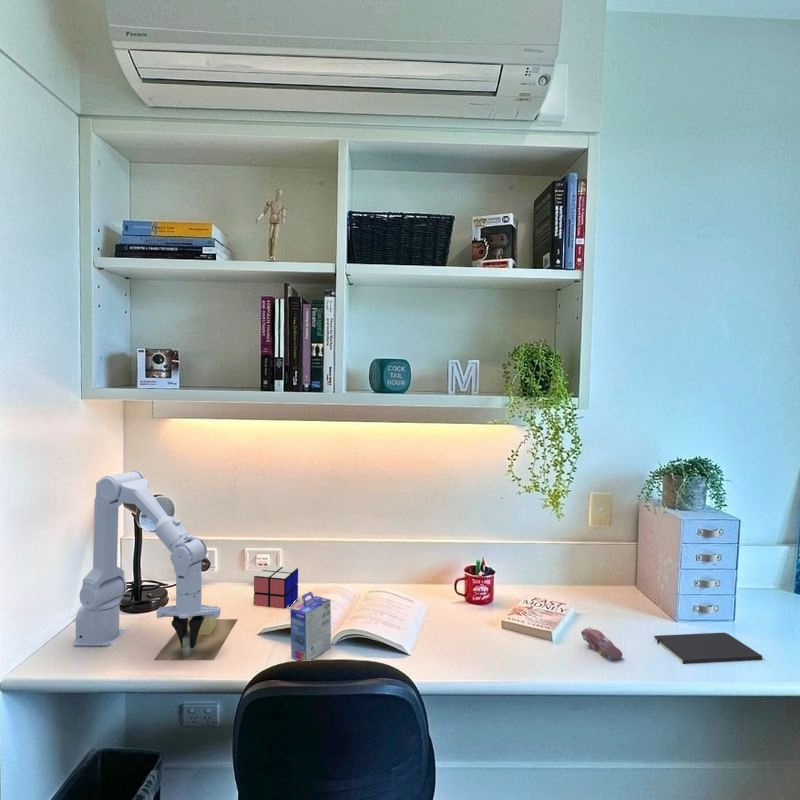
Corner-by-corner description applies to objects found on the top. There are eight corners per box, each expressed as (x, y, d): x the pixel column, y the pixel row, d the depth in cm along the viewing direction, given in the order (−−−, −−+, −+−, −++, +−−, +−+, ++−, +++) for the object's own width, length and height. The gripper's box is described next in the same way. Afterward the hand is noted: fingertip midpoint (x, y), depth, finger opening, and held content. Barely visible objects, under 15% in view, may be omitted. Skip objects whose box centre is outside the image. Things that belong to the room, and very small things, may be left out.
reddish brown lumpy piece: (584, 650, 142) (575, 628, 141) (597, 639, 144) (588, 618, 142) (612, 668, 133) (602, 645, 132) (625, 657, 135) (616, 634, 133)
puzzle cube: (285, 613, 158) (285, 579, 158) (253, 609, 160) (253, 576, 160) (298, 599, 168) (298, 567, 168) (268, 596, 170) (268, 564, 170)
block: (188, 634, 141) (188, 613, 141) (195, 625, 147) (195, 605, 146) (210, 634, 141) (210, 613, 141) (216, 625, 147) (216, 605, 147)
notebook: (682, 666, 133) (762, 661, 136) (683, 659, 133) (762, 655, 136) (652, 641, 146) (725, 637, 148) (652, 635, 146) (726, 632, 148)
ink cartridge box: (315, 641, 141) (315, 586, 141) (332, 646, 139) (332, 590, 138) (288, 657, 133) (289, 599, 132) (306, 664, 130) (307, 604, 130)
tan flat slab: (153, 664, 128) (153, 641, 128) (186, 622, 150) (186, 603, 150) (213, 664, 129) (213, 641, 129) (237, 622, 151) (237, 603, 151)
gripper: (151, 597, 127) (151, 654, 128) (214, 597, 128) (214, 654, 128) (163, 585, 134) (163, 640, 135) (222, 585, 135) (222, 639, 135)
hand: (188, 646), depth 132 cm, fingers closed on tan flat slab
